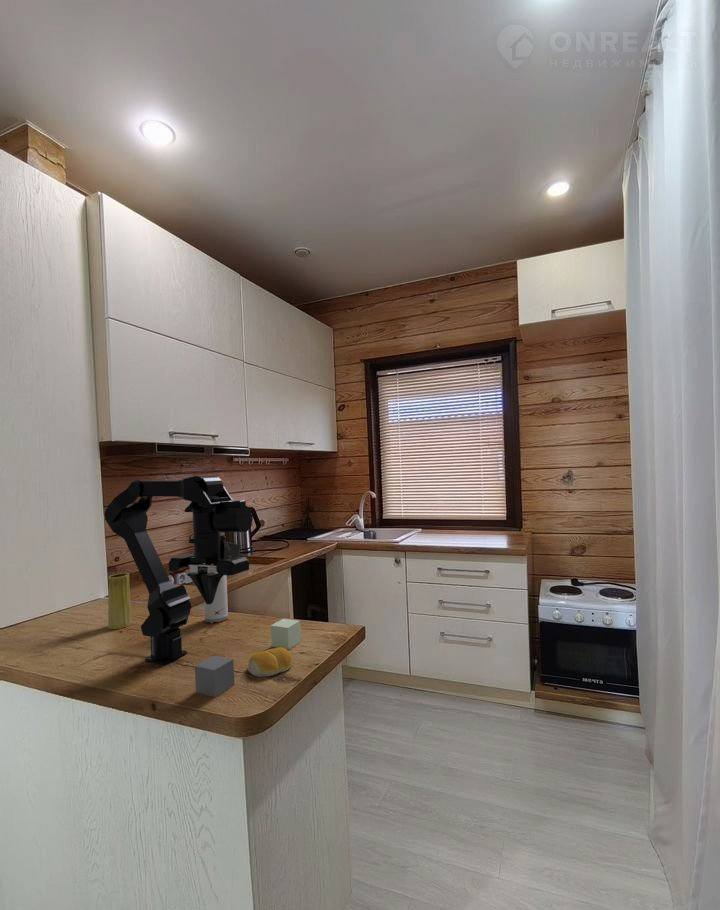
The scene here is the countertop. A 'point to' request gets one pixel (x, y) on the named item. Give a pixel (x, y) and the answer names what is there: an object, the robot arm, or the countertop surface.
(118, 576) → the vase
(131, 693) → the countertop surface
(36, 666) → the countertop surface
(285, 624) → the sage block
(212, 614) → the travel mug
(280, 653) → the bread roll
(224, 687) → the charcoal block
